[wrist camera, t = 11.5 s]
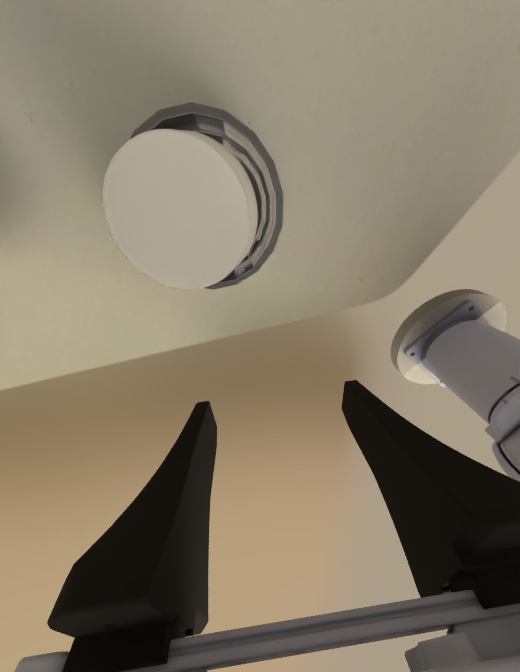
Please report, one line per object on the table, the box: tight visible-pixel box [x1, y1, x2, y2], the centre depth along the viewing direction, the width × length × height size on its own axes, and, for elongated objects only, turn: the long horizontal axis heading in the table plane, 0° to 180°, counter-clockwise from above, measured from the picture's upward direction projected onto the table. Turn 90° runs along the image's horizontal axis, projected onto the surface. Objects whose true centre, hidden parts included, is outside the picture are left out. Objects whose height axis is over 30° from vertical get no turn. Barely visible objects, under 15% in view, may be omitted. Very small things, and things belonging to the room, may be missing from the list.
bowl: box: [131, 103, 283, 289], centre depth 15 cm, size 9×9×4 cm
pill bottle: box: [102, 129, 258, 290], centre depth 12 cm, size 6×6×10 cm
